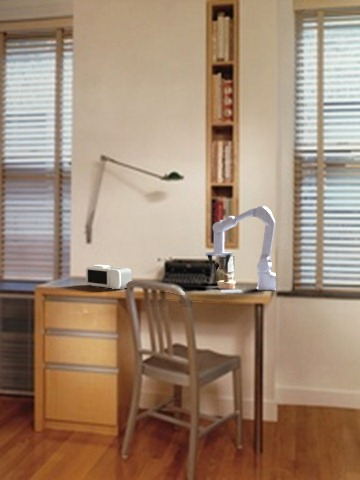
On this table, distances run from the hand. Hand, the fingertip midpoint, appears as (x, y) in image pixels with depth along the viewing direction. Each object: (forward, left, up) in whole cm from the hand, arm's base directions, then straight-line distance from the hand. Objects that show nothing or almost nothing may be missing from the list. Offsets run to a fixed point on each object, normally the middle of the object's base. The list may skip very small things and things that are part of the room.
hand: (218, 269), depth 293 cm
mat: (-6, +17, -10) cm, 20 cm away
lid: (-4, +5, -7) cm, 10 cm away
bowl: (-4, +5, -10) cm, 12 cm away
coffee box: (-4, -14, -10) cm, 18 cm away
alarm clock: (+60, +2, -10) cm, 61 cm away
